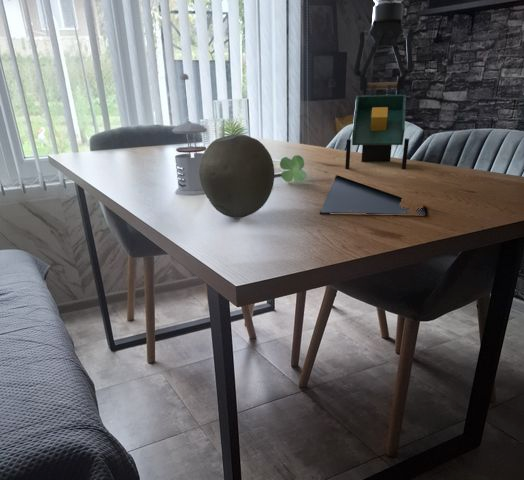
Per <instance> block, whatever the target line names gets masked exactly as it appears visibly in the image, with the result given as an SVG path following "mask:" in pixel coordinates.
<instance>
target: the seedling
mask: <svg viewBox="0 0 524 480" xmlns="http://www.w3.org/2000/svg"><path fill="white" fill-rule="evenodd" d="M279 166H280V169H282V170H283V171H282V172H281V174H280V175H281V179H282V180H284V181H285V182H287V183H291V182H292V181H294V182H295V183H301V182H303V181H305V180H306V179H307V175H308V174H307V173H306V171H305V170H303V168H304V167H305V160H304V158H303V157H302V156H301V155H299V154H298V155H297V154H295V155H293V156H292V158H289V157H287V156H284V157H282V158H281V159H280V160H279Z"/></svg>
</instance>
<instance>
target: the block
mask: <svg viewBox="0 0 524 480" xmlns="http://www.w3.org/2000/svg"><path fill="white" fill-rule="evenodd" d="M387 115H388V107H374V108H372V116H371V131H386V126H387Z"/></svg>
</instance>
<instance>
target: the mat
mask: <svg viewBox="0 0 524 480" xmlns="http://www.w3.org/2000/svg"><path fill="white" fill-rule="evenodd" d="M401 197H402V196H398V195H396V194H394V193H393V194H392V193H390V192H387V191H385V190H382V189H378V188H376V187H372V186H369V185H366V184H364V183H362V182H358V181H356V180H353V179H349V178H347V177H344V176H341V175H338V174H336V176H335V177H334V180H333V182H332V184H331V187H330V188H329V191H328V193H327V195H326V197H325V200H324V202H323V204H322V207H321V209H320V211H319V215H331V214H330V213H355V212H356V213H366V214H401V213H402V212H404V211H405V214H408V213H409V212H407V211H408V210H409V208H406V209H405V207H403V209H402V208H401V206H399V205H400V204H399V203H400V202H401V199H402V198H403V197H402V198H401ZM418 209H419V208H418ZM418 209H417V210H416V212H417V211H418V212H417V213H418V214H419V215H420V214H422V215H426V216H427V214H426V211H425V207H424V206H423V208H421V209H422V210H421V209H420V210H418ZM350 210H351V211H352V212H351V211H350ZM401 211H402V212H401ZM414 211H415V210H414ZM420 211H421V212H420ZM419 212H420V213H419ZM402 214H404V213H402Z"/></svg>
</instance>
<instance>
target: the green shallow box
mask: <svg viewBox="0 0 524 480" xmlns="http://www.w3.org/2000/svg"><path fill="white" fill-rule="evenodd" d="M396 88H397V81H389V82H388V81H387V82H367V91H369V90H371V94H370V95H367V94H366V95H356V97H355V105H354V106H355V107H354V113H353V122H352V132H351V133H352V135H351V137H352V138H351V145H352V146H362V145H392V146H404V139H405V138H404V136H405V130H406V128H405V127H406V108H407V107H406V106H407V104H406V103H407V94H399V95H396V94H392V90H396ZM377 90H386V94H376V93H377ZM374 107H388V115H387V126H386V131H371V116H372V108H374Z"/></svg>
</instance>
